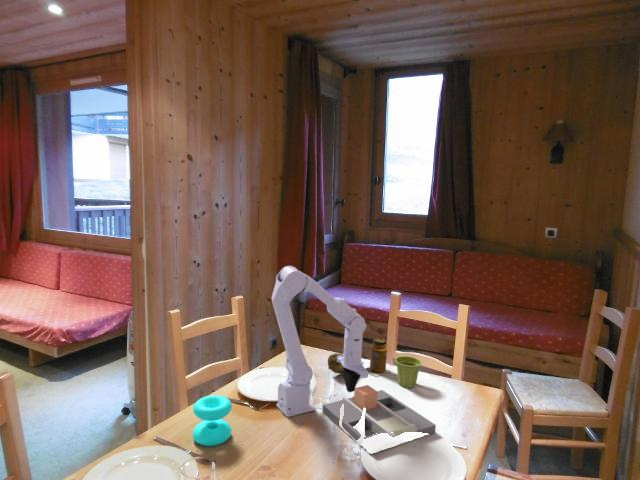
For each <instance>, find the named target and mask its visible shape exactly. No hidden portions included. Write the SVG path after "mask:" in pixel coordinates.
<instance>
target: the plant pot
mask: <svg viewBox="0 0 640 480" xmlns="http://www.w3.org/2000/svg"><path fill="white" fill-rule="evenodd" d="M394 362H395V364H396V373H397V382H398V385H400V386H401V387H404V388H414V387H416V385H417V380H418V376H419V371H420V368H421V366H422V365H423V361H422V360H421V359H420V358H418V357H417V358H416V357H415V356H414V357H413V356H408V355H400V356H396V357H395V359H394Z"/></svg>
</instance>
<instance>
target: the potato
mask: <svg viewBox="0 0 640 480" xmlns="http://www.w3.org/2000/svg"><path fill="white" fill-rule="evenodd" d="M340 355H344V353H343V354H342V353H333V354H331V355H329V356H328V358H327V365H328V370H330V371H332V372H333V373H336V374H340V375H342V376H343V374H342V372H341V369H342V368H344V367H343V366H342V364H341V362H337V356H340Z"/></svg>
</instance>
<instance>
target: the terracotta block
mask: <svg viewBox="0 0 640 480" xmlns="http://www.w3.org/2000/svg"><path fill="white" fill-rule="evenodd" d="M377 391H378V390H376V389H375V388H373V387H372V386H370V385H368V384H366V385H362V386H356V387H355V390H354V391H353V392H354V394H353V397H354V404H355V405H356V406H358V407H359V408H360V409H362V410H363V408H364V407H365V408H366V410H369V409H373V408H376V407H377V396H378V392H377Z"/></svg>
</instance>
